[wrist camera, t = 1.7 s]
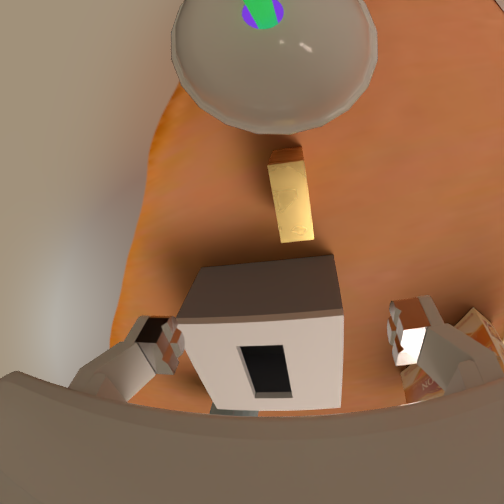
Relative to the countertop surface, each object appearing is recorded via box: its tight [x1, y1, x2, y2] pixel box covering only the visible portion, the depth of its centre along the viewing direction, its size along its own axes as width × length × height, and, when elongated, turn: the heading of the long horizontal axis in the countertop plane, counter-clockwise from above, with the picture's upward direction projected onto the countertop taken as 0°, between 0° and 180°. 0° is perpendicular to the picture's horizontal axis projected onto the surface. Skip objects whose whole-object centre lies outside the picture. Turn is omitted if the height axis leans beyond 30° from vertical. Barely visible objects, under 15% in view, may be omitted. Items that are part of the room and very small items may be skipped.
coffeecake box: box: [400, 307, 504, 404], centre depth 25 cm, size 15×7×20 cm, turn 151°
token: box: [267, 146, 314, 243], centre depth 23 cm, size 2×6×6 cm, turn 11°
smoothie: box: [171, 0, 378, 135], centre depth 12 cm, size 8×8×20 cm
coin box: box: [176, 255, 344, 411], centre depth 30 cm, size 14×14×9 cm
